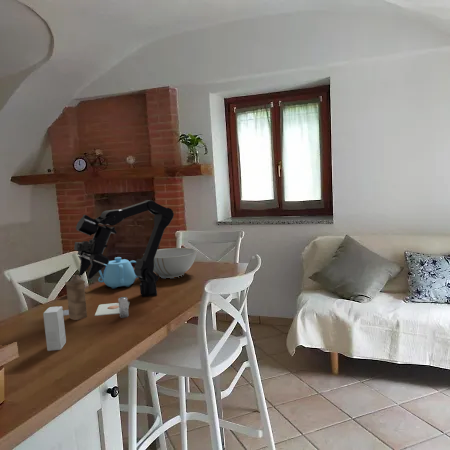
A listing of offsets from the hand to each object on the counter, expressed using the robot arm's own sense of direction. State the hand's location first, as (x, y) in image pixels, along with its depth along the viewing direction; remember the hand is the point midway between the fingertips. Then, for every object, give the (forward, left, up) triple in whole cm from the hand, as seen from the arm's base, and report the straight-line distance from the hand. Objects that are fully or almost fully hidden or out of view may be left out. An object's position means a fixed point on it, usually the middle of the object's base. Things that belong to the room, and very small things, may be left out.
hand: (84, 276), depth 175 cm
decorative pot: (-10, -35, -13) cm, 39 cm away
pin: (-15, +15, -13) cm, 25 cm away
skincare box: (+4, +39, -13) cm, 41 cm away
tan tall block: (+2, +11, -13) cm, 17 cm away
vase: (+8, -25, -13) cm, 29 cm away
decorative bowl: (-35, -46, -13) cm, 59 cm away
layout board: (-4, +5, -13) cm, 14 cm away
